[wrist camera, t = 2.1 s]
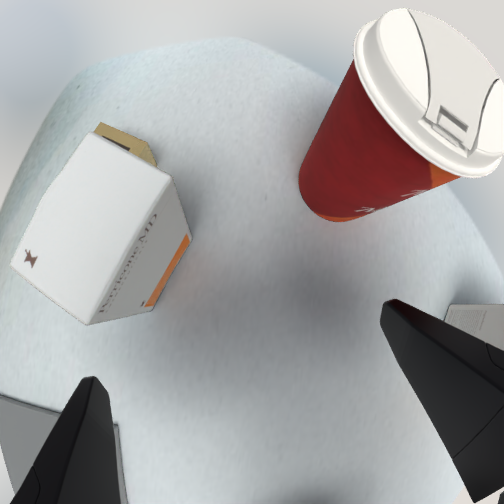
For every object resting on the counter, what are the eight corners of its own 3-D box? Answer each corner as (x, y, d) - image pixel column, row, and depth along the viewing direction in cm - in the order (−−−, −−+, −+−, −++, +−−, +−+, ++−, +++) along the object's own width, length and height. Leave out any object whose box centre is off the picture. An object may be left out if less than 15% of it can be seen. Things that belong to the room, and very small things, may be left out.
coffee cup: (363, 255, 23) (523, 208, 8) (265, 206, 23) (341, 76, 8) (392, 166, 25) (516, 73, 10) (306, 119, 24) (383, -23, 9)
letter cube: (115, 146, 22) (100, 121, 18) (157, 166, 22) (147, 142, 18) (88, 190, 22) (67, 172, 18) (129, 213, 22) (113, 197, 18)
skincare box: (152, 313, 21) (85, 333, 9) (103, 281, 21) (3, 266, 9) (196, 237, 22) (176, 174, 10) (146, 207, 22) (85, 126, 10)
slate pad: (-4, 393, 18) (-9, 395, 17) (118, 425, 20) (115, 429, 19) (21, 499, 17) (18, 502, 16) (133, 532, 18) (131, 537, 17)
